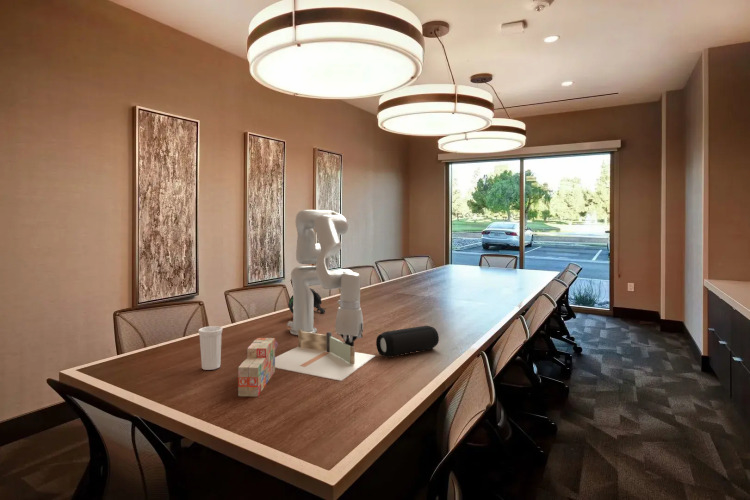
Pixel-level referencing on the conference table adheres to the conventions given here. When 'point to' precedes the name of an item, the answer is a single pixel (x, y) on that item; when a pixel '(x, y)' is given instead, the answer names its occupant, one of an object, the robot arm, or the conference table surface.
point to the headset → (316, 302)
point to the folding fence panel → (342, 350)
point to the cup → (210, 347)
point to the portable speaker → (406, 340)
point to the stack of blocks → (257, 367)
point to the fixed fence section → (314, 340)
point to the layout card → (319, 363)
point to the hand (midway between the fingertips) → (349, 351)
